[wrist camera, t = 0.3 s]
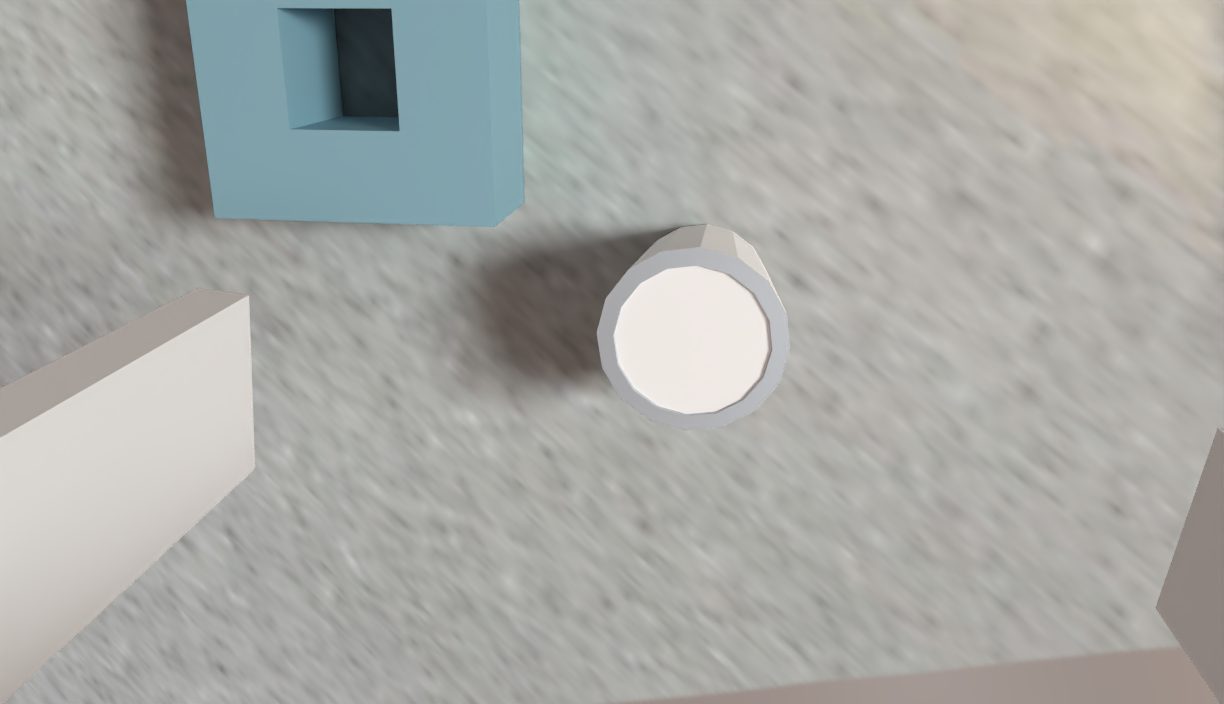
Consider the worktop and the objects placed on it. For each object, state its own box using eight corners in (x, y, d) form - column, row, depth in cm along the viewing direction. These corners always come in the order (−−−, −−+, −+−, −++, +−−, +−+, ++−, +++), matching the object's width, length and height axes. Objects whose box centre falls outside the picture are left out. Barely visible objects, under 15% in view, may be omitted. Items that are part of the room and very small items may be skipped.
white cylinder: (593, 322, 42) (565, 379, 35) (664, 180, 39) (647, 213, 33) (735, 393, 42) (733, 463, 35) (814, 255, 40) (827, 303, 33)
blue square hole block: (243, -83, 38) (173, -97, 33) (516, -86, 37) (482, -101, 32) (274, 195, 42) (214, 218, 37) (524, 202, 40) (494, 226, 36)
